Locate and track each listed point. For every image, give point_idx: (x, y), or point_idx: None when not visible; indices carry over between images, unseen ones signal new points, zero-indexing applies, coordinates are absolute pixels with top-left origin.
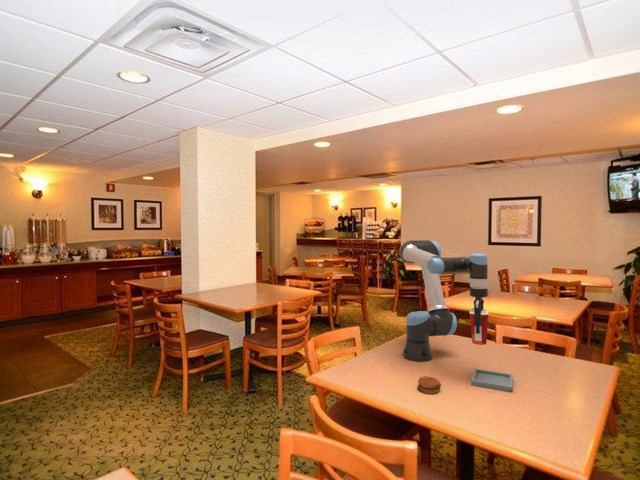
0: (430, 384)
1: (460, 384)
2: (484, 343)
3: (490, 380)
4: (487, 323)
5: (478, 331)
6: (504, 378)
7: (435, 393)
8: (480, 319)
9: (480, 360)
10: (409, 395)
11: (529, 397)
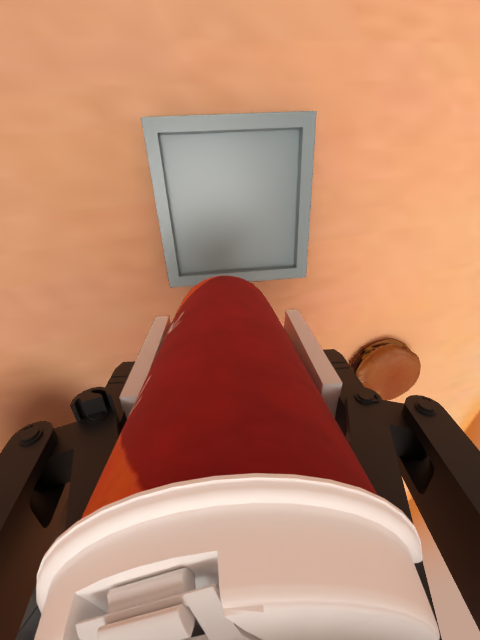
0: (418, 368)
1: (308, 302)
2: (253, 285)
3: (243, 214)
4: (239, 350)
5: (345, 368)
6: (186, 159)
7: (403, 343)
8: (396, 461)
9: (2, 285)
10: (426, 386)
11: (336, 31)
